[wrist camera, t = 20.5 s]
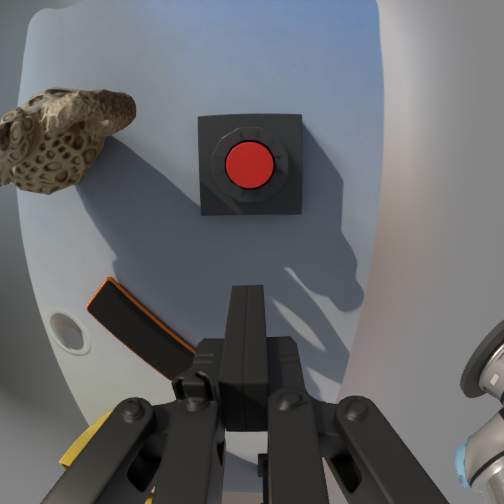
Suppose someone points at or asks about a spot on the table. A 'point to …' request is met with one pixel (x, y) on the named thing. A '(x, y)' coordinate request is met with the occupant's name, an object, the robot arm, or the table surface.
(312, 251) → the table surface
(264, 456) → the switch bracket
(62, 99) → the teapot
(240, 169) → the power button
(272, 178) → the control block
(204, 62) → the table surface
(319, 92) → the table surface
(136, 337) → the smartphone
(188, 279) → the table surface
